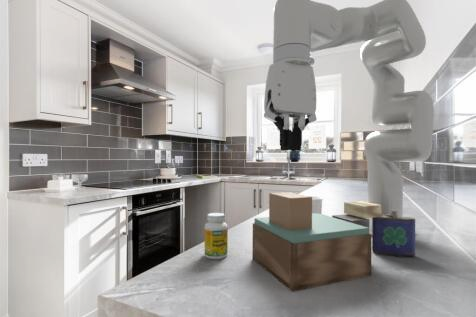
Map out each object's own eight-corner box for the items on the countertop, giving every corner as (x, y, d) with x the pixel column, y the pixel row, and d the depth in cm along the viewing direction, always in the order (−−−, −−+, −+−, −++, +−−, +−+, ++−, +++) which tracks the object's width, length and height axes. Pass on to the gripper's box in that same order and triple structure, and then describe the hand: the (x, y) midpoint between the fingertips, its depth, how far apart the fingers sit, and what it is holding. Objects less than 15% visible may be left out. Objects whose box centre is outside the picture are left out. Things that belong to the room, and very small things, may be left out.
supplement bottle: (220, 250, 66) (220, 211, 66) (231, 257, 62) (232, 215, 62) (200, 254, 63) (200, 213, 63) (211, 261, 59) (211, 217, 59)
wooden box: (333, 247, 69) (334, 210, 69) (389, 271, 54) (389, 224, 54) (252, 259, 61) (252, 216, 61) (292, 291, 46) (292, 235, 46)
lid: (317, 217, 67) (318, 188, 67) (369, 233, 53) (369, 197, 53) (254, 223, 60) (254, 191, 60) (293, 243, 46) (293, 201, 46)
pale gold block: (360, 211, 66) (360, 201, 66) (381, 216, 60) (381, 205, 60) (344, 213, 64) (344, 202, 64) (364, 218, 58) (364, 206, 58)
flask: (413, 254, 65) (413, 209, 65) (417, 258, 62) (418, 211, 62) (371, 250, 67) (371, 207, 67) (373, 254, 64) (373, 209, 64)
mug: (300, 224, 93) (300, 194, 93) (325, 228, 88) (326, 197, 88) (286, 231, 85) (286, 198, 85) (313, 236, 79) (314, 201, 79)
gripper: (311, 71, 61) (310, 151, 61) (249, 60, 56) (248, 150, 55) (335, 59, 54) (334, 150, 54) (266, 46, 49) (265, 148, 48)
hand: (290, 149), depth 55 cm, fingers closed
